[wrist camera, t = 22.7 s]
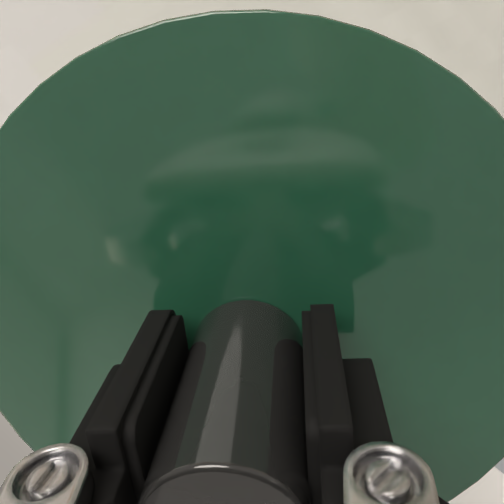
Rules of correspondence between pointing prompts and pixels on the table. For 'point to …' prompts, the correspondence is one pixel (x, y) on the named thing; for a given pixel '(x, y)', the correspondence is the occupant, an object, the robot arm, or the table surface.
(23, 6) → the table surface
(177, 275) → the pot lid
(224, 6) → the table surface
